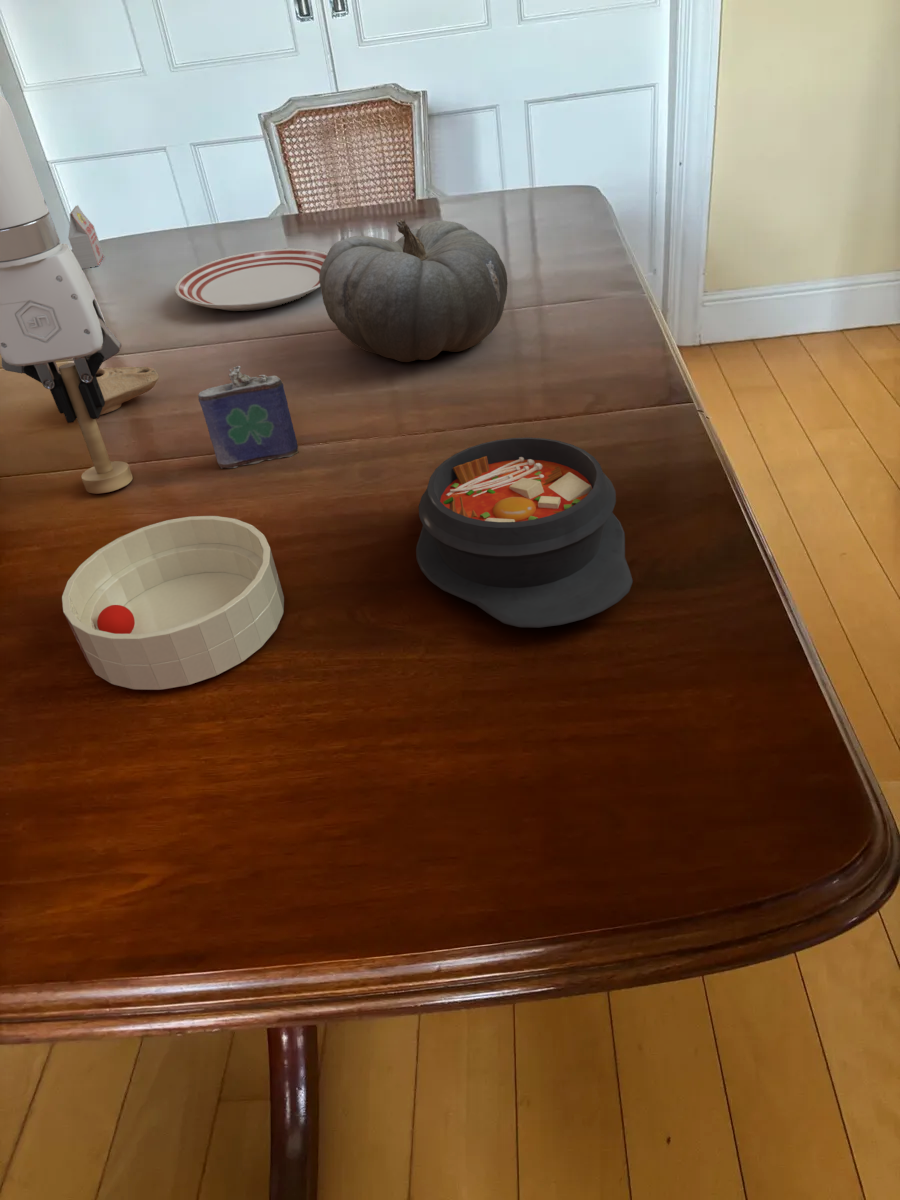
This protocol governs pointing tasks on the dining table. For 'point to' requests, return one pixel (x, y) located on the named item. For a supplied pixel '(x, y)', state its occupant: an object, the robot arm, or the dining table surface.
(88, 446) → the wooden potato masher
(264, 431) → the flask
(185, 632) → the bowl
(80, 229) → the white milk carton
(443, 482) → the casserole
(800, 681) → the dining table surface
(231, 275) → the dinner plate
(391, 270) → the gourd
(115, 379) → the pottery oil lamp
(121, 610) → the red ball
